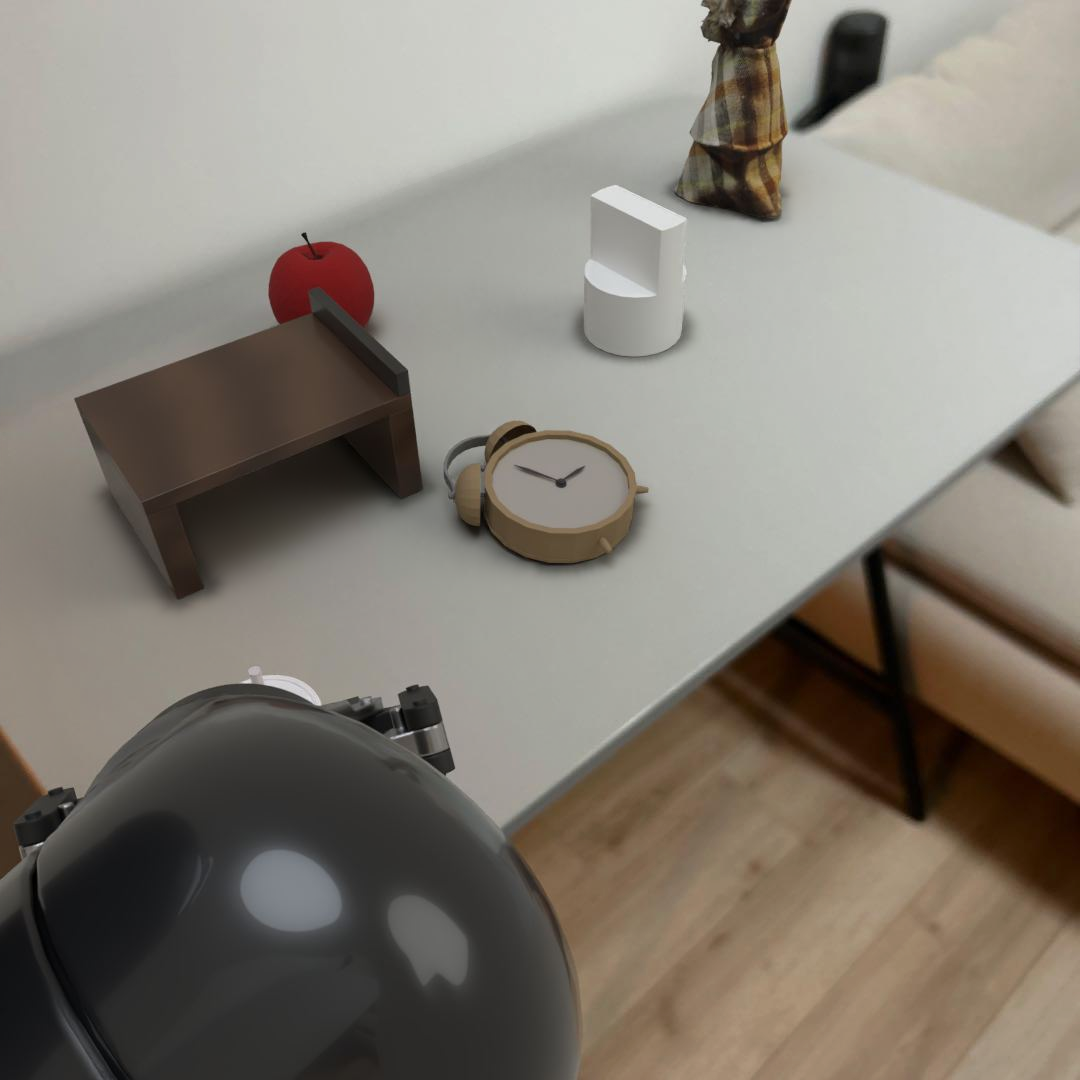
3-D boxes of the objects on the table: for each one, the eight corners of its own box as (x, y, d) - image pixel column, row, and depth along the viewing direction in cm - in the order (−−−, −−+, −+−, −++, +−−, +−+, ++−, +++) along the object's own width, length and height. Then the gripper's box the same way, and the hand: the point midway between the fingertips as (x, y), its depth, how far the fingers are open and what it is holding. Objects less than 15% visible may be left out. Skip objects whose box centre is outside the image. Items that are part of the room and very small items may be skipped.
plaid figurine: (653, 215, 113) (728, -44, 97) (643, 161, 123) (709, -81, 107) (780, 240, 115) (875, -10, 99) (760, 185, 125) (843, -50, 109)
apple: (287, 371, 96) (265, 270, 89) (271, 319, 102) (249, 220, 95) (389, 350, 98) (375, 250, 91) (367, 300, 104) (353, 203, 97)
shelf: (177, 600, 76) (132, 478, 68) (111, 493, 84) (64, 375, 77) (423, 489, 84) (408, 369, 76) (340, 402, 93) (319, 286, 85)
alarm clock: (605, 556, 74) (414, 470, 77) (592, 601, 78) (410, 517, 81) (662, 460, 81) (486, 385, 84) (648, 505, 85) (480, 431, 88)
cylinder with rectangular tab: (563, 327, 100) (562, 205, 92) (633, 292, 104) (638, 173, 96) (631, 368, 95) (637, 244, 87) (702, 330, 99) (714, 208, 91)
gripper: (453, 629, 31) (398, 618, 46) (-89, 780, 27) (50, 713, 43) (521, 886, 31) (443, 788, 46) (-13, 1067, 27) (99, 895, 43)
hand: (254, 752), depth 45 cm, fingers open, 8 cm apart
